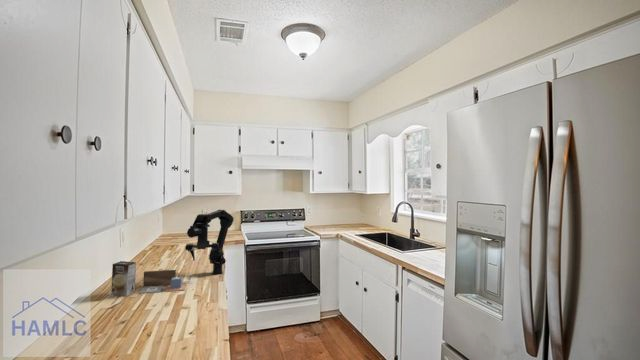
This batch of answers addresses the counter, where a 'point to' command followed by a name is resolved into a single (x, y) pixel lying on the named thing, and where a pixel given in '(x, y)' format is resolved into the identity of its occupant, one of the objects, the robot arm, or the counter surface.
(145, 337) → the counter surface
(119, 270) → the coffee box
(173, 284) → the letter cube
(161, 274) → the walnut screen
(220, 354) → the counter surface
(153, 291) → the grey pad
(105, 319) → the counter surface
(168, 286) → the terracotta pad
